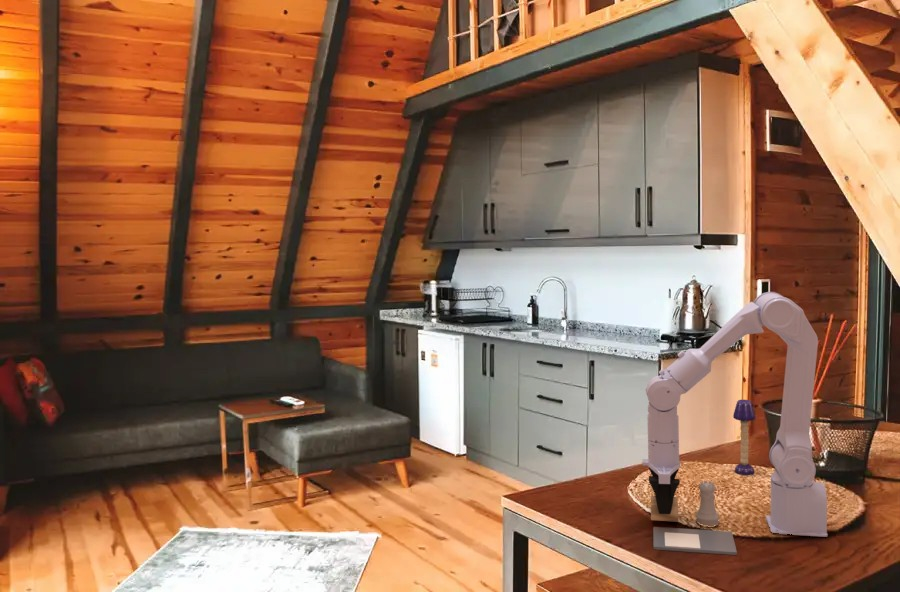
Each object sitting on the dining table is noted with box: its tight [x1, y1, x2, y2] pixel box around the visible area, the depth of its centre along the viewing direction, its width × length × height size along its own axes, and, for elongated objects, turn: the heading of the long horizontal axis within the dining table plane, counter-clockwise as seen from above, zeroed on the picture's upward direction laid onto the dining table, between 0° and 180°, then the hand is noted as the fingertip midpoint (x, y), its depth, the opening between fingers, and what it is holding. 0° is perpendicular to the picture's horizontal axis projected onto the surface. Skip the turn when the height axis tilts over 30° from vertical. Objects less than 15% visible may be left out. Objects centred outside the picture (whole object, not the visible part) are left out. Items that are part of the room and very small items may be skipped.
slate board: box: [652, 526, 738, 556], centre depth 141 cm, size 14×9×1 cm, turn 75°
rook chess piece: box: [695, 480, 720, 526], centre depth 148 cm, size 4×4×8 cm
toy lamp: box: [732, 399, 756, 476], centre depth 176 cm, size 5×5×17 cm
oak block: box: [650, 495, 679, 523], centre depth 150 cm, size 5×5×3 cm
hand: (664, 507), depth 150 cm, fingers closed on oak block, 5 cm apart
